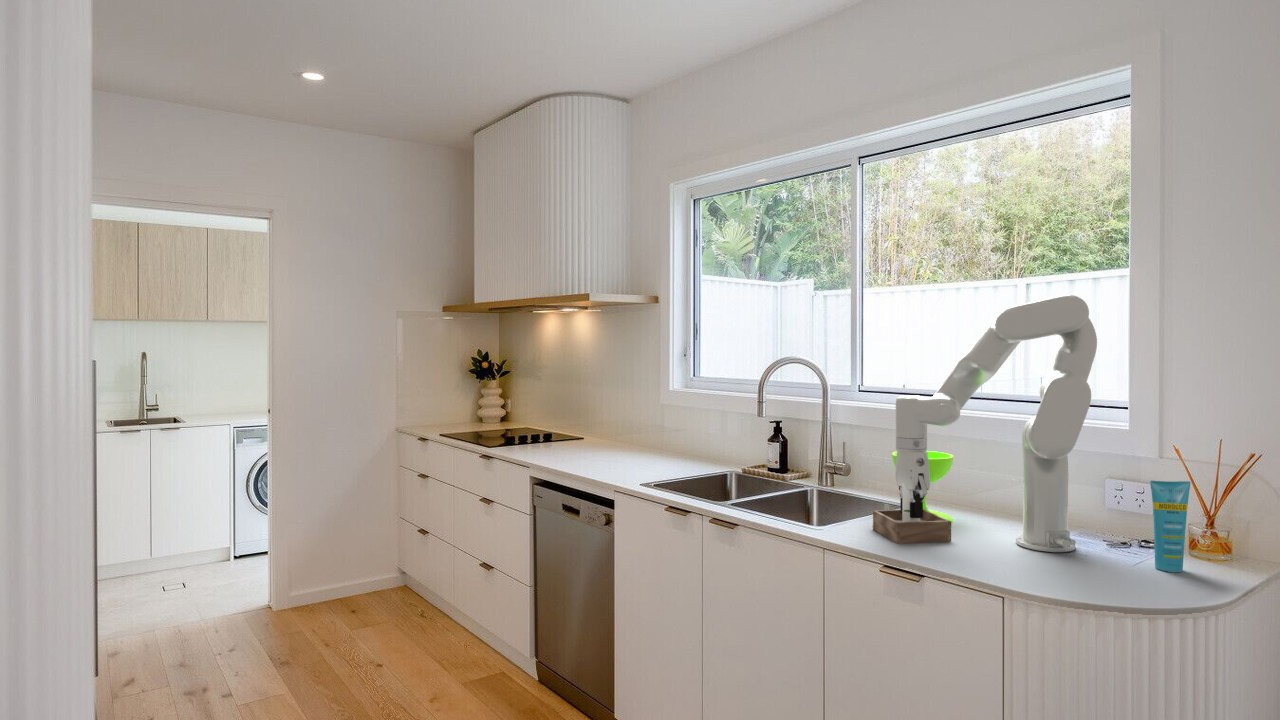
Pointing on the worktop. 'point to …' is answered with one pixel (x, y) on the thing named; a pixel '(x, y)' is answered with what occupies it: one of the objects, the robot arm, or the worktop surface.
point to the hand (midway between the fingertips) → (911, 514)
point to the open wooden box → (911, 527)
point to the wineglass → (936, 472)
